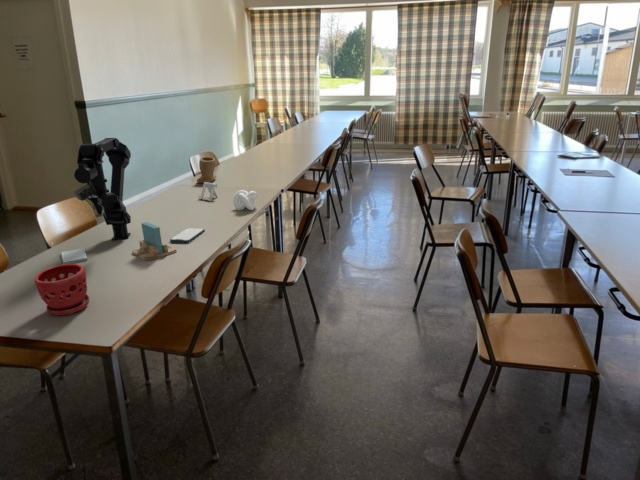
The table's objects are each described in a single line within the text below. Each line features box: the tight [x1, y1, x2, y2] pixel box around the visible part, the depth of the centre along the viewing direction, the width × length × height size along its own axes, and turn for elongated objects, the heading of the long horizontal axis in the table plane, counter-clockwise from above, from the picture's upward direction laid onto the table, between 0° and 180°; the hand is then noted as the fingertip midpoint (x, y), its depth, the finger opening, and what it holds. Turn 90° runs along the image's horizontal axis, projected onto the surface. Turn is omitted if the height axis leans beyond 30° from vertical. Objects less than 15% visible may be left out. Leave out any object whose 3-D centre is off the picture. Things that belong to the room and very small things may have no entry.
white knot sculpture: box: [232, 189, 258, 211], centre depth 237 cm, size 11×12×9 cm
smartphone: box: [169, 227, 206, 244], centre depth 202 cm, size 9×2×16 cm
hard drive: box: [60, 247, 89, 265], centre depth 184 cm, size 2×8×12 cm
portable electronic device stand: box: [197, 182, 219, 202], centre depth 258 cm, size 9×8×8 cm
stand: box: [131, 239, 178, 262], centre depth 185 cm, size 12×12×4 cm
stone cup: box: [196, 156, 217, 184], centre depth 296 cm, size 15×12×15 cm
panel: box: [141, 221, 163, 253], centre depth 184 cm, size 10×2×10 cm, turn 46°
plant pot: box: [33, 263, 91, 316], centre depth 142 cm, size 13×13×12 cm
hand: (103, 216), depth 188 cm, fingers open, 7 cm apart
